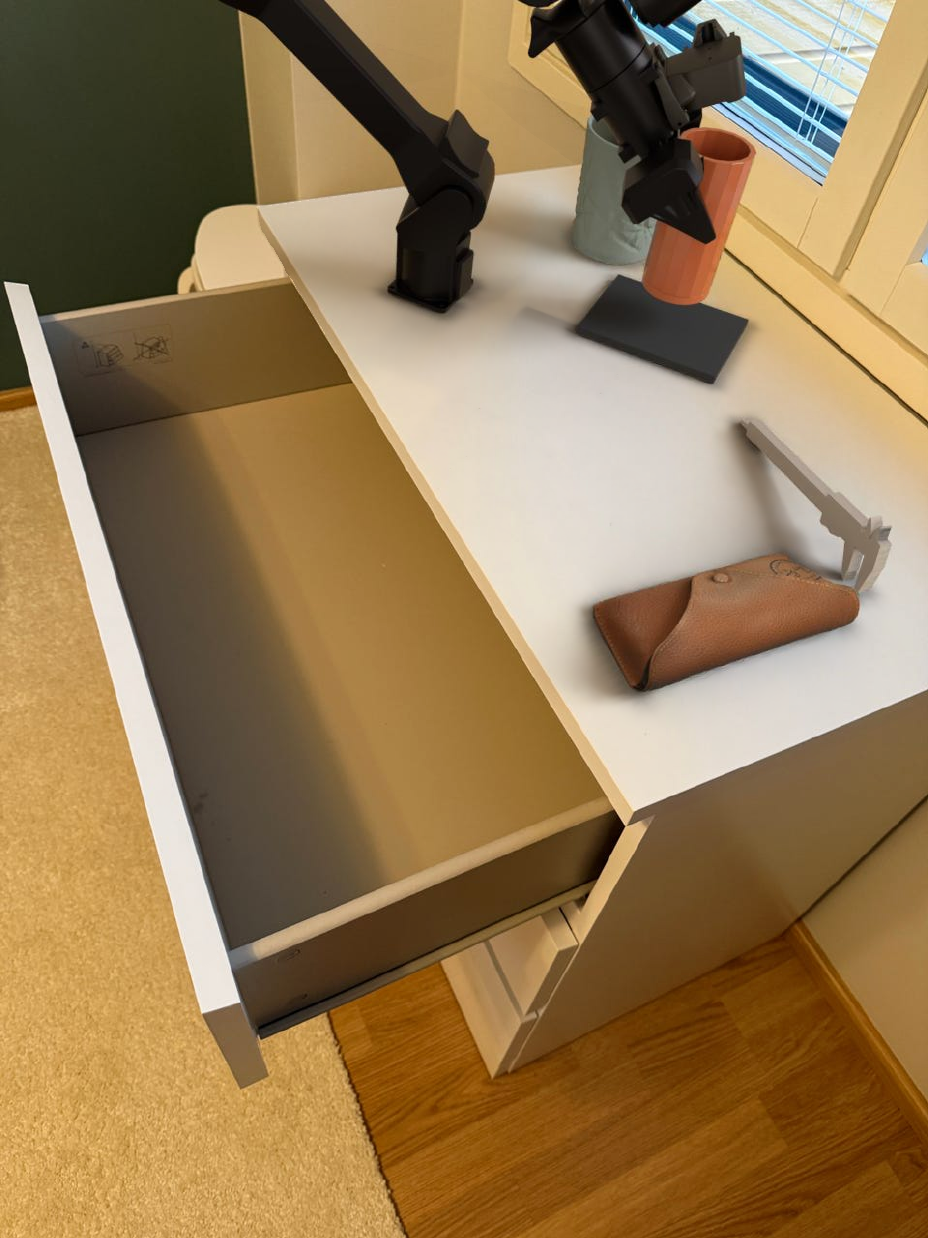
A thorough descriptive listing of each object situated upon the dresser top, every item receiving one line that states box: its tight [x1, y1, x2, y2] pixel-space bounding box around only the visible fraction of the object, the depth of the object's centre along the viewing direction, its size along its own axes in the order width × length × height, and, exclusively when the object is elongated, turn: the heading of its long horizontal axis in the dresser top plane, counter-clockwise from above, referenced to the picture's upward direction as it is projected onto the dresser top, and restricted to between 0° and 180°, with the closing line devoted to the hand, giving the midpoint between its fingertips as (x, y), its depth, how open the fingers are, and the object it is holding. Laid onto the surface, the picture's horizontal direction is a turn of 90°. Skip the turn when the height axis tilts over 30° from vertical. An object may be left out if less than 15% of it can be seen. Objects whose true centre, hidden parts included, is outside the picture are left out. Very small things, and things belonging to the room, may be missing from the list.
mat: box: [575, 274, 750, 384], centre depth 90 cm, size 14×11×1 cm
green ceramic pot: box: [571, 114, 657, 266], centre depth 95 cm, size 10×10×12 cm
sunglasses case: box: [592, 553, 861, 693], centre depth 66 cm, size 18×7×7 cm
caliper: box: [740, 418, 893, 594], centre depth 74 cm, size 20×1×6 cm, turn 15°
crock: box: [641, 126, 757, 305], centre depth 82 cm, size 6×6×13 cm
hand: (710, 220), depth 82 cm, fingers closed on crock, 6 cm apart
